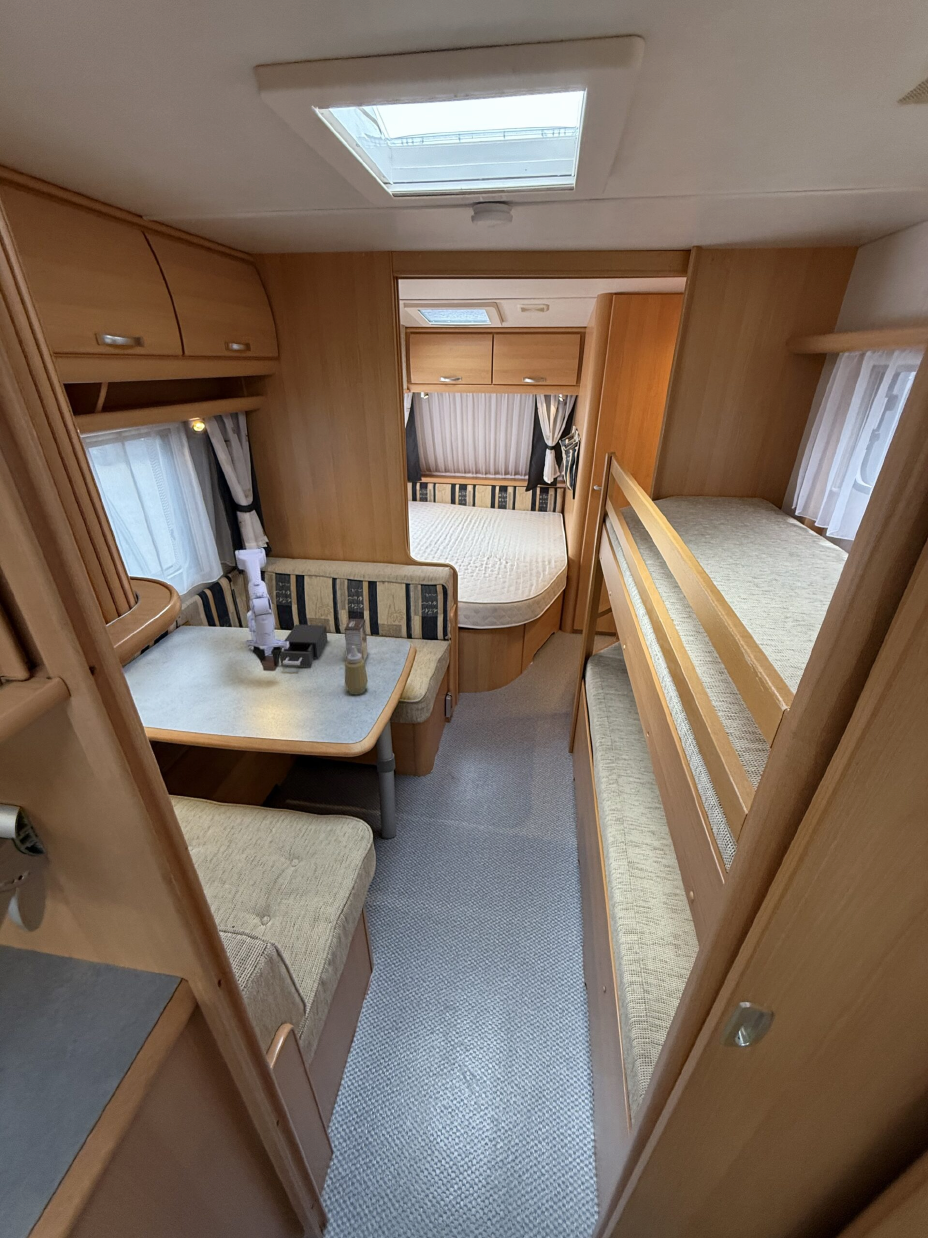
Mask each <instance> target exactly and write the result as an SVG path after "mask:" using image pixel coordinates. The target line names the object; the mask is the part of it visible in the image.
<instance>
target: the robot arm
mask: <svg viewBox="0 0 928 1238" xmlns="http://www.w3.org/2000/svg"><path fill="white" fill-rule="evenodd" d="M234 553H235V554H234V555H235V559H236V564H237V567H238V568H239V570H244V571H245V573H246V575H247V581H248V585H247V589H248V594H249V606H250V610H249V611H248V612H247V614H246V620H247V626H248V631H249V632H250V637H251V639H246V641H244V645H245V648H250V649H251V651H252V654H254V655H255V656H256V657H257V659H258V660H259V662H260V664H261V666H262V667H263V665H262V660H263V659H264V658H265V656H266V655H271V656H273V658H274V664H275V666H278V664H279V665H280V653H281V651H283V649H284V648H285V649H288V647H289V641H284V640H282V639H279V638H276V635H275V634H276V633H275V629H276V619H275V616H274V612H273V604H272V600H271V598H270V595H269V594H268V589H267V584H266V582H264V581H263V580H262V576H261V575H262V574H261V569H263V567H266V565H267V557H266V551H265V549H264V548H263V547H260V548H250V549H240V550H238V549H237V550H235V552H234ZM278 667H279V666H278Z"/></svg>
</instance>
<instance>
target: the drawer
mask: <svg viewBox="0 0 928 1238" xmlns="http://www.w3.org/2000/svg"><path fill="white" fill-rule="evenodd" d="M314 656H315V647H314V644H297V643H289V647H288V649H285V648H283V650H281V653H280V658H279V662H280V666H282V667H283V666H285V667H308V668H309V667H310V668H311V667H312V665H313V664H312V661H313V660H314V659H313V658H314Z"/></svg>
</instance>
